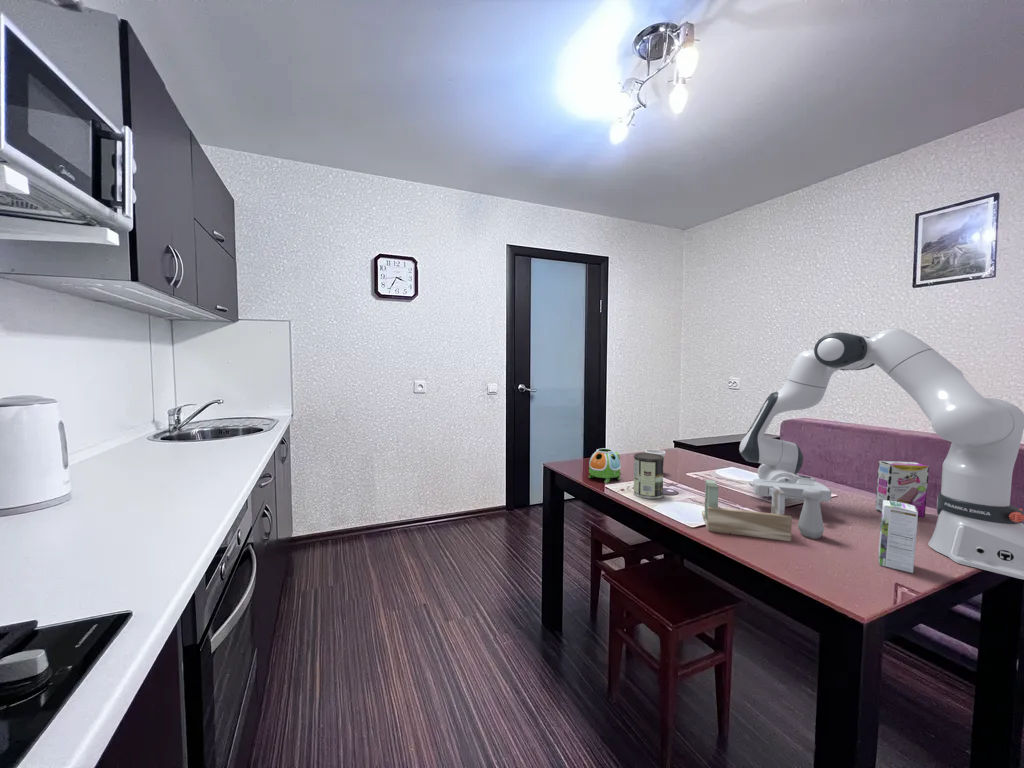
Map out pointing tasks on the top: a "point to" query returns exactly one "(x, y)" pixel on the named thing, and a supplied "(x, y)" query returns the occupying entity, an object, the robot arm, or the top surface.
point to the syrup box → (898, 536)
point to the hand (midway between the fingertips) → (799, 498)
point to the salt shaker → (811, 514)
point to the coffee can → (648, 475)
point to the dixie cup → (656, 452)
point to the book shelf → (747, 517)
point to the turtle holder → (605, 464)
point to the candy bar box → (902, 484)
